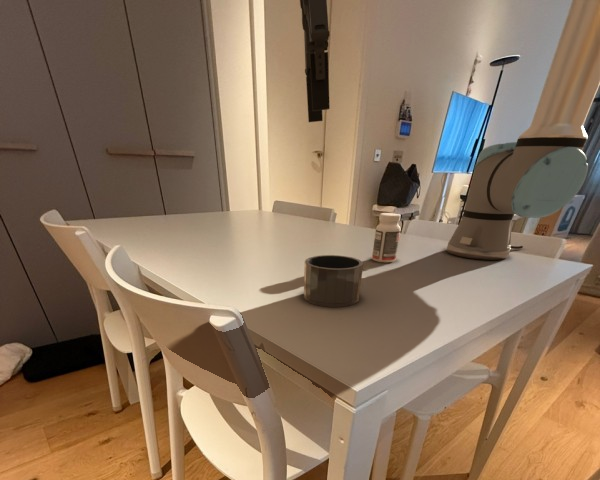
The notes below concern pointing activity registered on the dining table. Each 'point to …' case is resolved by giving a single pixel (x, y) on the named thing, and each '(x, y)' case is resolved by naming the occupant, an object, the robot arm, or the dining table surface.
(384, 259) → the pill bottle
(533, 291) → the dining table surface
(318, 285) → the cylindrical container
